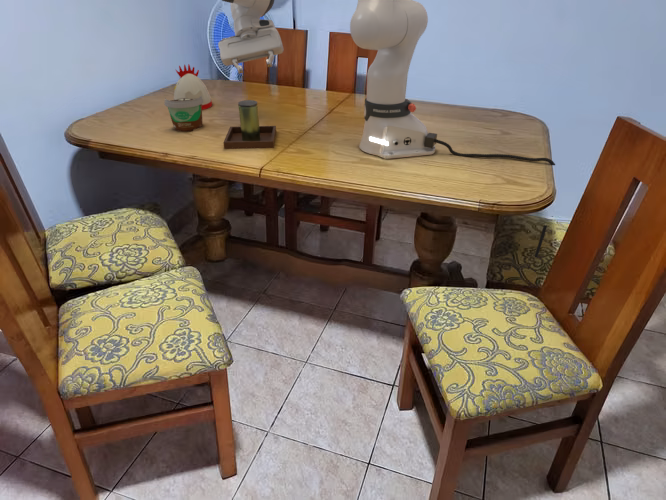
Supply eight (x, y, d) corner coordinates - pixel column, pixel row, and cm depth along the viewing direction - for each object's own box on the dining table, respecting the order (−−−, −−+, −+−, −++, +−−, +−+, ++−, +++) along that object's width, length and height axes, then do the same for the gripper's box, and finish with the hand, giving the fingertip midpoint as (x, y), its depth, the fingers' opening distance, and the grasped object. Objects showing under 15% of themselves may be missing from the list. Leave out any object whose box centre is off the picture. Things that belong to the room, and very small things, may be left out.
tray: (276, 133, 150) (275, 125, 148) (273, 149, 138) (273, 141, 136) (231, 134, 149) (230, 126, 148) (224, 150, 137) (223, 142, 136)
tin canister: (261, 136, 146) (258, 99, 139) (259, 142, 141) (256, 105, 135) (243, 136, 145) (239, 100, 139) (241, 143, 141) (236, 105, 134)
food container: (168, 134, 149) (162, 103, 144) (169, 128, 154) (163, 97, 149) (208, 130, 152) (203, 100, 146) (207, 125, 157) (202, 95, 151)
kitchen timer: (172, 103, 179) (164, 62, 171) (207, 99, 184) (201, 59, 176) (178, 113, 169) (170, 69, 160) (215, 108, 173) (209, 66, 165)
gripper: (214, 33, 147) (220, 69, 143) (277, 19, 146) (284, 55, 143) (220, 46, 153) (226, 82, 149) (280, 33, 152) (287, 68, 149)
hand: (255, 69), depth 146 cm, fingers open, 8 cm apart
